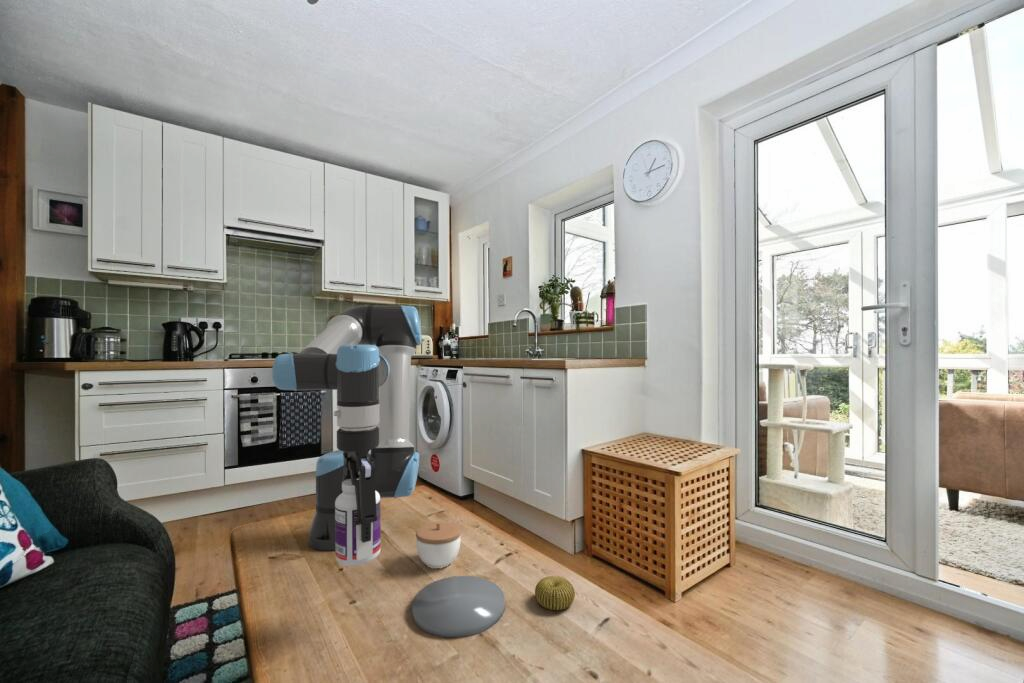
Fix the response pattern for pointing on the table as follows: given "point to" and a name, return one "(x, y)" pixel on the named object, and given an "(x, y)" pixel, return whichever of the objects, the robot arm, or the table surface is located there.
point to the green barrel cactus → (554, 593)
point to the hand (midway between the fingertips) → (358, 547)
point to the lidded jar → (438, 543)
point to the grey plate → (458, 606)
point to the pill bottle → (352, 527)
